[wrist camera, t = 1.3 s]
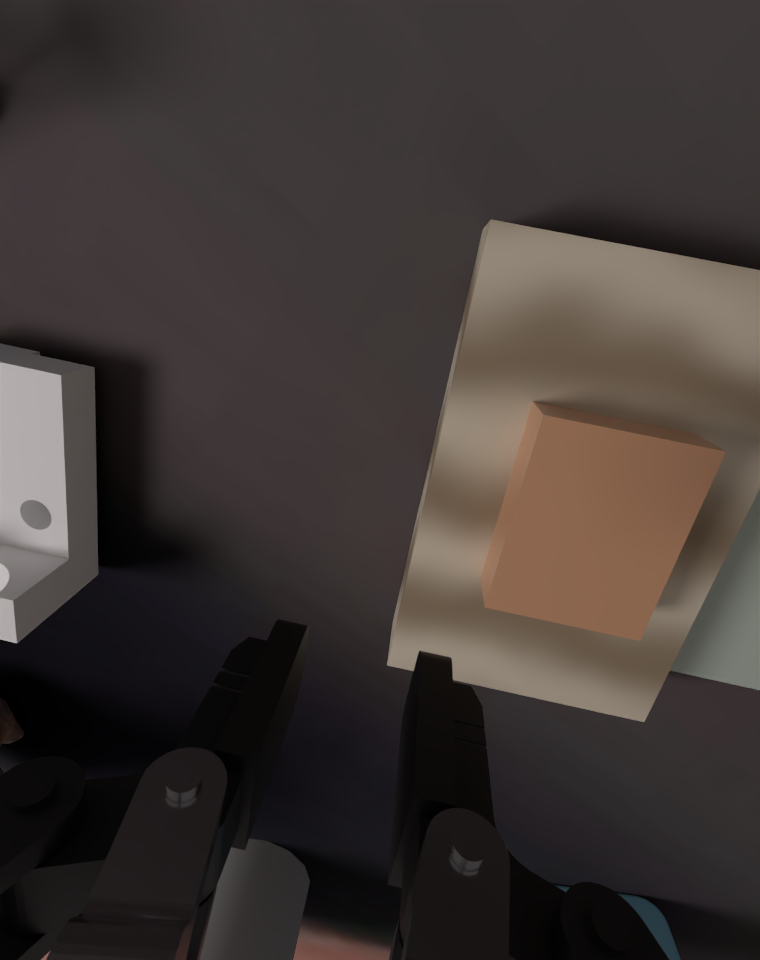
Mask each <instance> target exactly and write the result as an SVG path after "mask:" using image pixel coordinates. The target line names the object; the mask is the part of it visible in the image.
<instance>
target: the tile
mask: <svg viewBox="0 0 760 960" xmlns="http://www.w3.org/2000/svg"><path fill="white" fill-rule="evenodd" d="M725 453H726V451H724V450H722V449H721V448H719V447H717V446H716V445H714V444H712V443H710V442H709V441H707V440H705V439H704V438H702V437H700V436H698V435H697V434H694V433H689V432H684V431H679V430H674V429H669V428H664V427H659V426H654V425H649V424H644V423H639V422H634V421H629V420H624V419H619V418H614V417H609V416H604V415H599V414H594V413H589V412H584V411H579V410H574V409H569V408H564V407H559V406H554V405H549V404H544V403H539V402H534V401H532V405H531V408H530V411H529V415H528V418H527V422H526V425H525V428H524V432H523V435H522V439H521V442H520V445H519V449H518V452H517V455H516V459H515V462H514V466H513V469H512V472H511V476H510V479H509V483H508V486H507V489H506V493H505V496H504V500H503V503H502V506H501V510H500V513H499V516H498V520H497V523H496V527H495V530H494V533H493V537H492V540H491V544H490V547H489V550H488V554H487V557H486V561H485V564H484V567H483V571H482V574H481V577H480V579H481V586H482V593H483V600H484V607H485V608H490V609H494V610H499V611H503V612H508V613H513V614H517V615H522V616H527V617H531V618H536V619H541V620H545V621H550V622H554V623H559V624H564V625H568V626H573V627H578V628H582V629H587V630H592V631H596V632H601V633H605V634H610V635H615V636H619V637H624V638H629V639H633V640H638V641H640V640H641V638H642V635H643V633H644V631H645V629H646V627H647V624H648V622H649V620H650V618H651V616H652V614H653V611H654V609H655V607H656V605H657V603H658V600H659V598H660V596H661V594H662V592H663V589H664V587H665V585H666V583H667V581H668V578H669V576H670V574H671V572H672V570H673V567H674V565H675V563H676V561H677V559H678V556H679V554H680V552H681V550H682V548H683V545H684V543H685V541H686V539H687V537H688V534H689V532H690V530H691V528H692V526H693V523H694V521H695V519H696V517H697V515H698V512H699V510H700V508H701V506H702V504H703V501H704V499H705V497H706V495H707V493H708V490H709V488H710V486H711V484H712V482H713V479H714V477H715V475H716V473H717V471H718V468H719V466H720V464H721V462H722V460H723V457H724V455H725Z"/></svg>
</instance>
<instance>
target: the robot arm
mask: <svg viewBox="0 0 760 960" xmlns="http://www.w3.org/2000/svg"><path fill="white" fill-rule="evenodd" d="M308 634H309V626H307V625H302V624H298V623H293V622H289V621H284V620H280V619H278V620H277V621H276V623H275V625H274V627H273V629H272V631H271V633H270V635H269V637H268V639H267V641H266V640H261V639H257V638H252V637H248V638H247V639H246V640H244V641H243V642H242V643H240V644H239V645H238V646H236V647H235V648H234V649H232V650H231V652H230V654H229V655H228V657H227V659H226V661H225V662H224V664H223V666H222V668H221V671H220V672H219V673H218V675H217V677H216V678H215V680H214V682H213V685H212V687H210V689H209V691H208V692H207V694H206V696H205V698H204V699H203V701H202V703H201V705H200V706H199V708H198V710H197V712H196V714H195V715H194V717H193V719H192V721H191V722H190V724H189V726H188V728H187V729H186V731H185V733H184V735H183V736H182V738H181V740H180V742H179V743H178V745H177V746H176V748H175V749H174V750H173V751H171V752H168V753H166V754H164V755H163V756H161V757H159V758H158V759H157V760H155V761H154V762H153V763H152V764H151V765H150V766H149V767H148V768H147V770H146V771H143V772H141V773H137V774H134V775H129V776H122V777H111V778H99V779H88V780H85V775H84V773H83V770H82V769H81V767H80V766H79V765H78V764H77V763H76V762H74V761H73V760H70V759H68V758H65V757H60V756H45V757H40V758H35V759H32V760H29V761H26V762H24V763H21V764H19V765H17V766H15V767H13V768H12V769H10V770H8V771H7V772H5V773H3V774H2V775H0V960H41V959H42V958H43V957H44V956H45V955H46V954H47V953H48V952H49V951H50V950H51V951H50V953H49V955H48V957H47V959H46V960H200V957H201V952H202V948H203V944H204V940H205V936H206V931H207V927H208V923H209V919H210V915H211V910H212V906H213V902H214V898H215V894H216V889H217V883H218V881H219V879H220V876H221V874H222V871H223V868H224V865H225V863H226V860H227V857H228V855H229V852H230V849H231V847H232V848H237V849H241V850H245V849H246V846H247V843H248V840H249V837H250V834H251V832H252V829H253V826H254V823H255V820H256V817H257V814H258V811H259V808H260V805H261V802H262V799H263V797H264V794H265V791H266V788H267V785H268V782H269V779H270V776H271V773H272V770H273V767H274V765H275V762H276V759H277V756H278V753H279V750H280V747H281V744H282V741H283V738H284V735H285V732H286V730H287V727H288V724H289V721H290V718H291V715H292V712H293V709H294V706H295V703H296V700H297V696H298V692H299V688H300V683H301V678H302V672H303V666H304V660H305V653H306V647H307V640H308ZM388 885H391V886H395V887H399V888H402V890H401V906H400V916H399V919H398V922H397V925H396V929H395V933H394V938H393V943H392V948H391V953H390V958H389V960H669V958H668V957H667V955H666V954H665V952H664V951H663V949H662V948H661V946H660V945H659V943H658V942H657V940H656V939H655V937H654V936H653V934H652V933H651V931H650V930H649V928H648V927H647V925H646V924H645V922H644V921H643V920H642V918H641V917H640V916H639V914H638V913H637V912H636V910H635V909H634V908H633V907H632V906H631V905H630V904H629V903H628V902H627V901H626V900H625V899H623V898H622V897H621V896H620V895H618V894H617V893H616V892H614V891H612V890H611V889H609V888H607V887H605V886H602V885H600V884H596V883H592V882H582V883H577V884H575V885H573V886H571V887H570V888H569V889H568V890H567V891H566V892H565V891H563V890H561V889H560V888H558V887H556V886H555V885H553V884H551V883H549V882H548V881H546V880H544V879H543V878H541V877H539V876H538V875H536V874H534V873H533V872H531V871H530V870H528V869H527V868H525V867H524V866H523V865H522V864H521V863H519V862H518V861H517V860H516V859H515V858H514V857H513V856H512V855H511V853H510V852H509V851H508V849H507V847H506V845H505V842H504V840H503V839H502V837H501V835H500V834H499V832H498V831H497V829H496V826H495V822H494V816H493V807H492V797H491V787H490V777H489V767H488V758H487V749H486V738H485V731H484V718H483V709H482V705H481V703H480V701H479V699H478V698H477V696H476V694H475V692H474V690H473V689H472V687H471V686H468V685H463V684H459V683H454V682H453V672H452V658H451V657H447V656H442V655H438V654H433V653H429V652H424V651H419V653H418V656H417V660H416V664H415V668H414V672H413V675H412V679H411V683H410V687H409V691H408V695H407V699H406V703H405V707H404V713H403V719H402V725H401V735H400V747H399V759H398V770H397V782H396V793H395V805H394V817H393V828H392V840H391V852H390V863H389V875H388Z"/></svg>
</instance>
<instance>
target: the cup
mask: <svg viewBox="0 0 760 960" xmlns="http://www.w3.org/2000/svg"><path fill="white" fill-rule="evenodd" d="M309 884H310V880H309V877H308V874H307V871H306V868H305V866H304V865H303V864H302V863H301V862H300V861H299V860H298V859H297V858H296V857H295V856H294V855H293V854H292V853H291V852H290V851H288V850H286V849H284V848H282V847H280V846H277V845H275V844H273V843H271V842H269V841H263V840H255V839H249V840H248V843H247V846H246V849H245V850H241V849H237V848H232V847H231V849H230V852H229V855H228V857H227V860H226V863H225V865H224V868H223V871H222V874H221V876H220V879H219V881H218V883H217V889H216V894H215V898H214V902H213V906H212V910H211V915H210V919H209V923H208V927H207V931H206V936H205V940H204V944H203V948H202V952H201V957H200V960H293V958H294V953H295V948H296V944H297V939H298V935H299V930H300V925H301V921H302V916H303V911H304V907H305V902H306V898H307V893H308V888H309Z"/></svg>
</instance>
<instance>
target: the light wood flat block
mask: <svg viewBox="0 0 760 960" xmlns="http://www.w3.org/2000/svg"><path fill="white" fill-rule="evenodd" d="M532 401H534V402H539V403H544V404H549V405H554V406H559V407H564V408H569V409H574V410H579V411H584V412H589V413H594V414H599V415H604V416H609V417H614V418H619V419H624V420H629V421H634V422H639V423H644V424H649V425H654V426H659V427H664V428H669V429H674V430H679V431H684V432H689V433H694V434H697V435H698V436H700V437H702V438H704V439H705V440H707V441H709V442H710V443H712V444H714V445H716V446H717V447H719V448H721V449H722V450H724V451H726V453H725V455H724V457H723V460H722V462H721V464H720V466H719V468H718V471H717V473H716V475H715V477H714V479H713V482H712V484H711V486H710V488H709V490H708V493H707V495H706V497H705V499H704V501H703V504H702V506H701V508H700V510H699V512H698V515H697V517H696V519H695V521H694V523H693V526H692V528H691V530H690V532H689V534H688V537H687V539H686V541H685V543H684V545H683V548H682V550H681V552H680V554H679V556H678V559H677V561H676V563H675V565H674V567H673V570H672V572H671V574H670V576H669V578H668V581H667V583H666V585H665V587H664V589H663V592H662V594H661V596H660V598H659V600H658V603H657V605H656V607H655V609H654V611H653V614H652V616H651V618H650V620H649V622H648V624H647V627H646V629H645V631H644V633H643V635H642V638H641V640H640V641H638V640H633V639H629V638H624V637H619V636H615V635H610V634H605V633H601V632H596V631H592V630H587V629H582V628H578V627H573V626H568V625H564V624H559V623H554V622H550V621H545V620H541V619H536V618H531V617H527V616H522V615H517V614H513V613H508V612H503V611H499V610H494V609H490V608H485V607H484V600H483V593H482V586H481V579H480V577H481V574H482V571H483V567H484V564H485V561H486V557H487V554H488V550H489V547H490V544H491V540H492V537H493V533H494V530H495V527H496V523H497V520H498V516H499V513H500V510H501V506H502V503H503V500H504V496H505V493H506V489H507V486H508V483H509V479H510V476H511V472H512V469H513V466H514V462H515V459H516V455H517V452H518V449H519V445H520V442H521V439H522V435H523V432H524V428H525V425H526V422H527V418H528V415H529V411H530V408H531V405H532ZM759 489H760V270H756V269H751V268H745V267H740V266H735V265H729V264H724V263H719V262H714V261H708V260H703V259H698V258H692V257H687V256H682V255H676V254H671V253H666V252H661V251H655V250H650V249H645V248H639V247H634V246H629V245H623V244H618V243H613V242H608V241H602V240H597V239H592V238H586V237H581V236H576V235H570V234H565V233H560V232H554V231H549V230H544V229H539V228H533V227H528V226H523V225H517V224H512V223H507V222H501V221H496V220H490V221H489V223H488V224H487V225H486V226H485V228H484V229H483V231H482V235H481V240H480V244H479V248H478V253H477V257H476V262H475V266H474V270H473V275H472V279H471V283H470V288H469V292H468V296H467V301H466V305H465V309H464V314H463V318H462V323H461V327H460V331H459V336H458V340H457V344H456V349H455V353H454V357H453V362H452V366H451V371H450V375H449V379H448V384H447V388H446V392H445V397H444V401H443V405H442V410H441V414H440V418H439V423H438V427H437V432H436V436H435V440H434V445H433V449H432V453H431V458H430V462H429V466H428V471H427V475H426V479H425V484H424V488H423V493H422V497H421V501H420V506H419V510H418V514H417V519H416V523H415V527H414V532H413V536H412V541H411V545H410V549H409V554H408V558H407V562H406V567H405V571H404V575H403V580H402V584H401V588H400V593H399V597H398V602H397V606H396V610H395V615H394V619H393V625H392V633H391V640H390V647H389V654H388V662H387V665H388V666H393V667H397V668H402V669H406V670H411V671H414V668H415V664H416V660H417V656H418V653H419V651H424V652H429V653H433V654H438V655H442V656H447V657H451V658H452V672H453V680H456V681H460V682H465V683H470V684H474V685H479V686H483V687H488V688H492V689H497V690H501V691H506V692H510V693H515V694H519V695H524V696H528V697H533V698H537V699H542V700H546V701H551V702H555V703H560V704H564V705H569V706H574V707H578V708H583V709H587V710H592V711H596V712H601V713H605V714H610V715H614V716H619V717H623V718H628V719H632V720H637V721H641V722H644V721H645V719H646V717H647V715H648V713H649V711H650V709H651V707H652V705H653V703H654V701H655V699H656V697H657V695H658V693H659V691H660V689H661V687H662V685H663V683H664V681H665V679H666V677H667V675H668V673H669V671H670V669H671V667H672V665H673V663H674V661H675V659H676V657H677V655H678V653H679V651H680V649H681V647H682V645H683V643H684V641H685V639H686V637H687V634H688V632H689V630H690V628H691V626H692V624H693V622H694V620H695V618H696V616H697V614H698V612H699V610H700V608H701V606H702V604H703V602H704V600H705V598H706V596H707V594H708V592H709V590H710V588H711V586H712V584H713V582H714V580H715V578H716V576H717V574H718V572H719V570H720V568H721V566H722V564H723V562H724V560H725V558H726V556H727V554H728V552H729V550H730V548H731V546H732V544H733V542H734V539H735V537H736V535H737V533H738V531H739V529H740V527H741V525H742V523H743V521H744V519H745V517H746V515H747V513H748V511H749V509H750V507H751V505H752V503H753V501H754V499H755V497H756V495H757V493H758V491H759Z"/></svg>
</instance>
